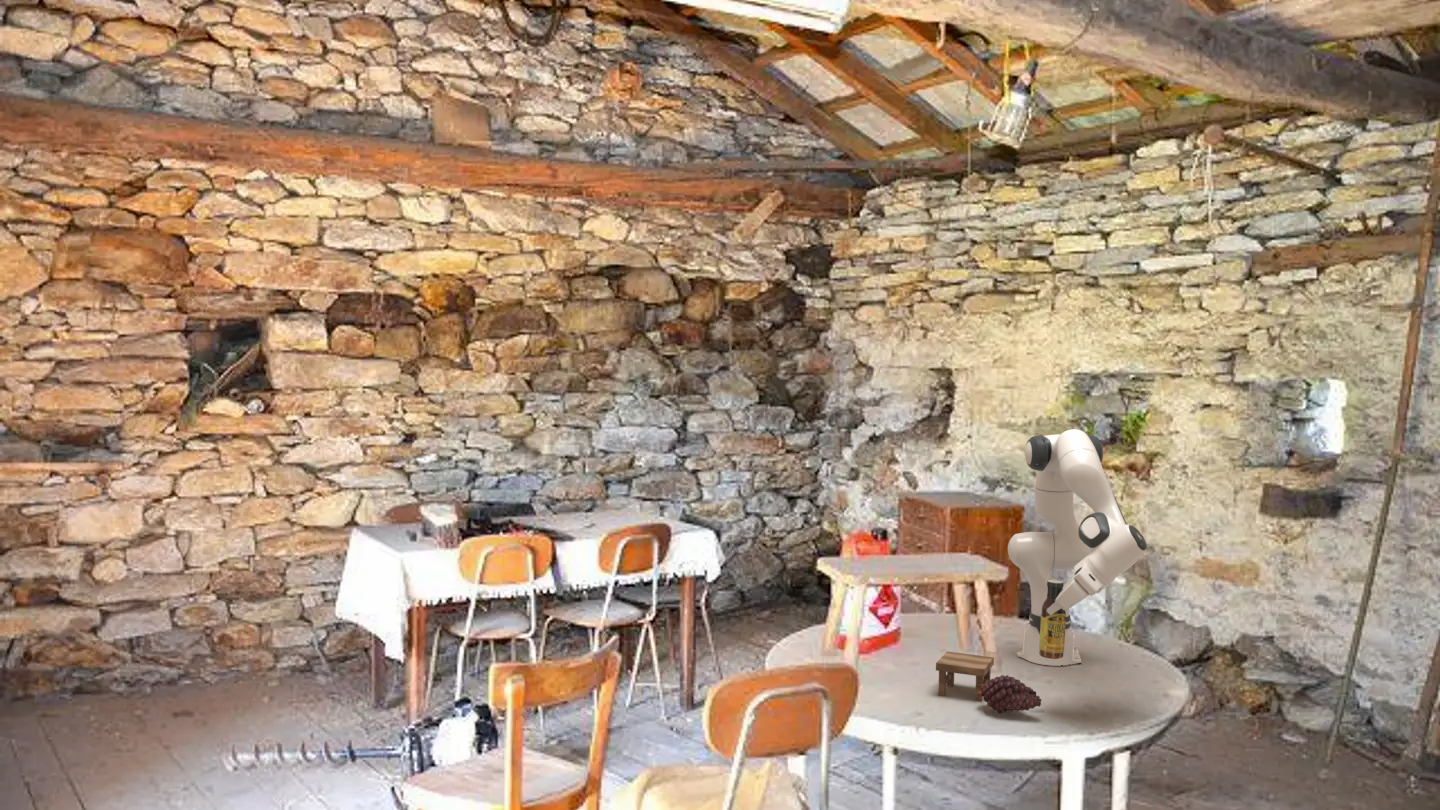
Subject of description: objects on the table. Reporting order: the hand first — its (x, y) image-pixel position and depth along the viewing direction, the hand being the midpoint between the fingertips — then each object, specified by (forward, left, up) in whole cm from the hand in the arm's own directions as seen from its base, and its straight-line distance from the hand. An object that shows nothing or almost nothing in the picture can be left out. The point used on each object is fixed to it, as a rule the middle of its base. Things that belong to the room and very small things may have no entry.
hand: (1050, 609), depth 286 cm
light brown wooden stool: (-5, -23, -27) cm, 35 cm away
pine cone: (+8, -9, -27) cm, 29 cm away
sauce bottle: (0, +1, -13) cm, 13 cm away
